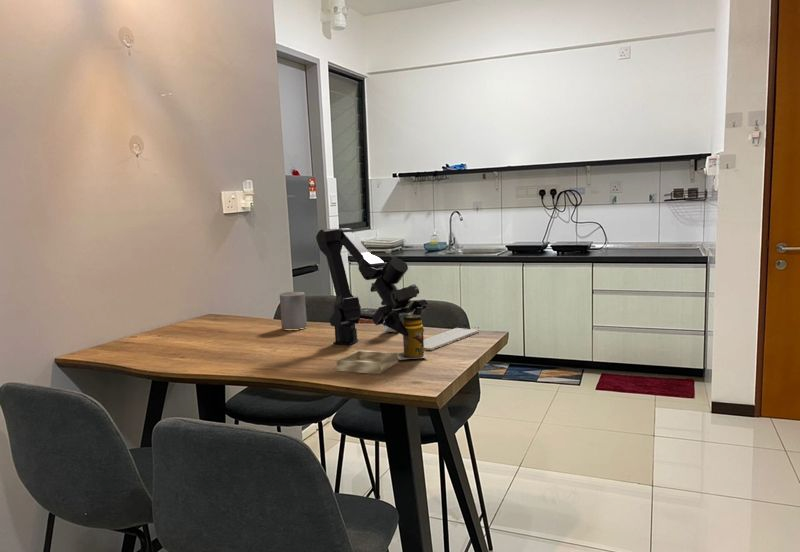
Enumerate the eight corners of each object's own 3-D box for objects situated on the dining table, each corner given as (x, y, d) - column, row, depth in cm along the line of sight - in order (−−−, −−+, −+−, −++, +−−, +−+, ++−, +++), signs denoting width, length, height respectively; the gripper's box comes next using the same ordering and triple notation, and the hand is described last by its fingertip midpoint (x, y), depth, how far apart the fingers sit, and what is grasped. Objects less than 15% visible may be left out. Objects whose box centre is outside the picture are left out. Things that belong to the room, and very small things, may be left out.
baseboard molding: (399, 349, 191) (430, 353, 184) (399, 340, 191) (430, 344, 184) (450, 331, 216) (479, 334, 209) (449, 323, 216) (479, 326, 208)
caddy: (337, 370, 165) (336, 360, 165) (358, 359, 177) (357, 350, 177) (379, 374, 160) (379, 363, 160) (398, 362, 172) (397, 352, 172)
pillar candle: (286, 326, 235) (283, 288, 233) (310, 325, 234) (307, 288, 232) (278, 331, 226) (275, 292, 224) (302, 331, 224) (300, 291, 222)
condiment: (428, 357, 173) (426, 317, 172) (399, 360, 172) (398, 319, 170) (421, 351, 180) (420, 312, 179) (394, 354, 179) (392, 315, 177)
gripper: (377, 279, 170) (404, 322, 163) (423, 273, 183) (450, 312, 176) (361, 304, 177) (386, 345, 170) (406, 296, 189) (432, 334, 183)
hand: (415, 334), depth 175 cm, fingers closed on condiment, 6 cm apart
